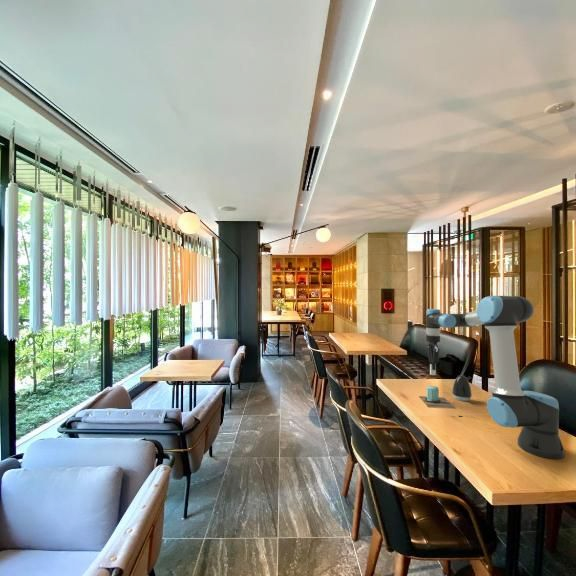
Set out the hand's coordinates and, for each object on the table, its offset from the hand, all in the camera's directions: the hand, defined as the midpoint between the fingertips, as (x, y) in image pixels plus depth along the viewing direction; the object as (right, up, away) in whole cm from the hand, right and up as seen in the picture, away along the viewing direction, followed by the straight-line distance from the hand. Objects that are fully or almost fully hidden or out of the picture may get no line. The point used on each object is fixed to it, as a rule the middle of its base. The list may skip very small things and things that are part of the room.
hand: (432, 374), depth 181 cm
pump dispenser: (+19, -17, +4) cm, 26 cm away
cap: (0, -14, 0) cm, 14 cm away
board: (+1, -16, -2) cm, 17 cm away
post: (0, -15, 0) cm, 15 cm away
